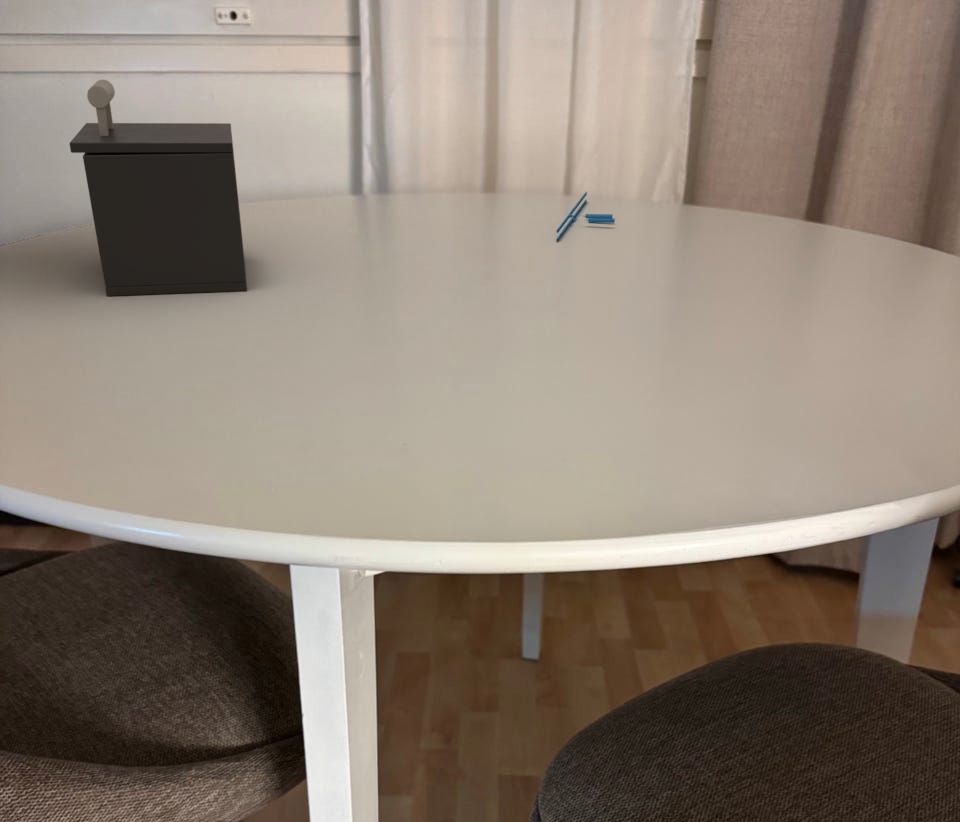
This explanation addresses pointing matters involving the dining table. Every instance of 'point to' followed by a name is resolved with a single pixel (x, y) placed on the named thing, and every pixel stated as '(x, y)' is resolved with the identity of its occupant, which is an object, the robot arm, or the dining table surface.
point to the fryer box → (167, 222)
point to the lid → (145, 132)
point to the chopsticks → (592, 217)
